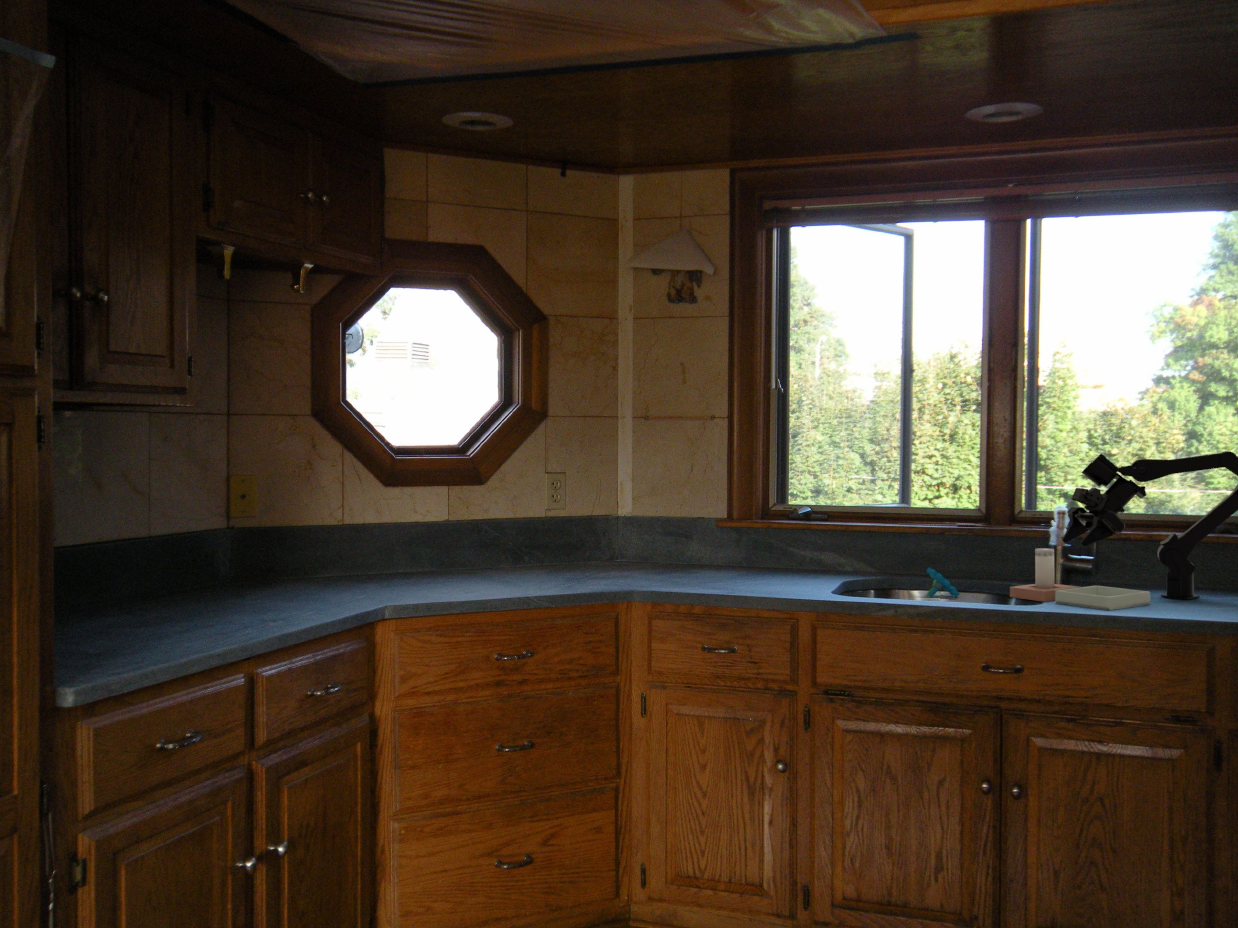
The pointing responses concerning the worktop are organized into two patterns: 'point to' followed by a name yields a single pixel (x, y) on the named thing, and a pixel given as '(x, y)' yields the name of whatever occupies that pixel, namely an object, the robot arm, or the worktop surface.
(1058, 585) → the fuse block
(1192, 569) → the robot arm
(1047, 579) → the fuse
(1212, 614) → the worktop surface
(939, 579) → the teal branched piece
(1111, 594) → the tray
